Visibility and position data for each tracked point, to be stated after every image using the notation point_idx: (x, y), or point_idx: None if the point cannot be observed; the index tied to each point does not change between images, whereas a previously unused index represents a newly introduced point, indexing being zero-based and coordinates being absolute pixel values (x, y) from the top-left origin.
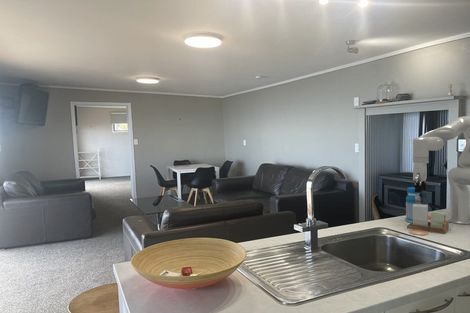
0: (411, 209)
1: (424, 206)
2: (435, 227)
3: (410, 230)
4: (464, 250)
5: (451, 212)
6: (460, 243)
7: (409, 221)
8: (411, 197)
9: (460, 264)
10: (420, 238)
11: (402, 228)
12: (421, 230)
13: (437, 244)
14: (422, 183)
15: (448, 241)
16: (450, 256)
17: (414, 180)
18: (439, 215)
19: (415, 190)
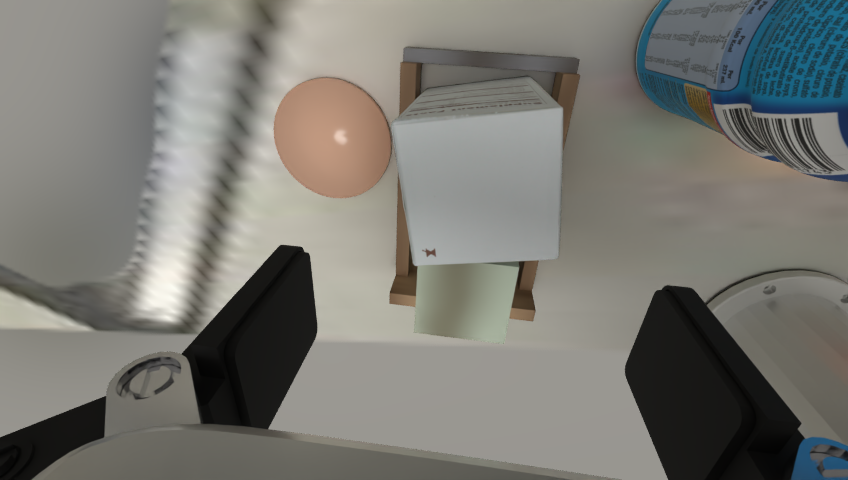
0: (696, 41)
1: (430, 240)
2: (407, 240)
3: (329, 89)
4: (192, 332)
5: (794, 341)
6: None
7: (649, 16)
8: (821, 47)
9: (33, 317)
10: (225, 167)
11: (388, 11)
12: (375, 155)
13: (188, 247)
14: (704, 463)
15: None
16: (80, 293)
17: (312, 436)
18: (416, 308)
19: (268, 268)
